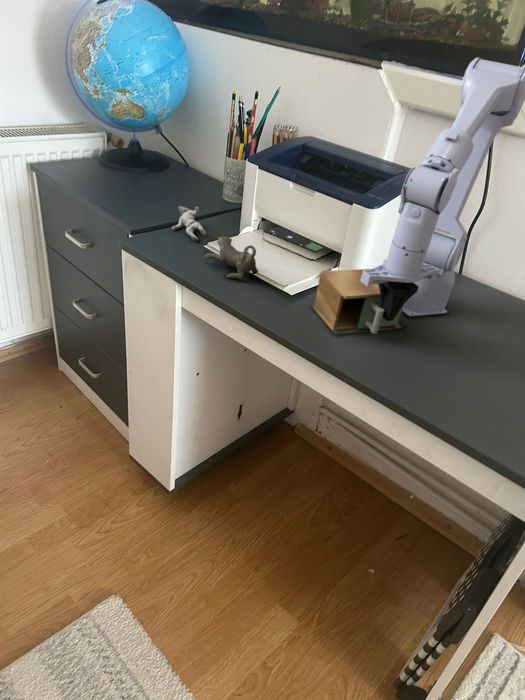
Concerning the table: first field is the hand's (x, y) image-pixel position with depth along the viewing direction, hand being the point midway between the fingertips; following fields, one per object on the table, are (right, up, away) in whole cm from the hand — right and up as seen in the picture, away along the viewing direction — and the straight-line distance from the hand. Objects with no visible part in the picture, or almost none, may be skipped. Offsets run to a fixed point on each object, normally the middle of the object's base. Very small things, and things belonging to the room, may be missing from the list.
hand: (386, 317), depth 91 cm
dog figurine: (-28, +10, +16) cm, 34 cm away
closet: (-4, +1, +8) cm, 9 cm away
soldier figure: (-38, +22, +30) cm, 53 cm away
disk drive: (-13, +19, +33) cm, 40 cm away
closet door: (0, -2, +3) cm, 4 cm away
